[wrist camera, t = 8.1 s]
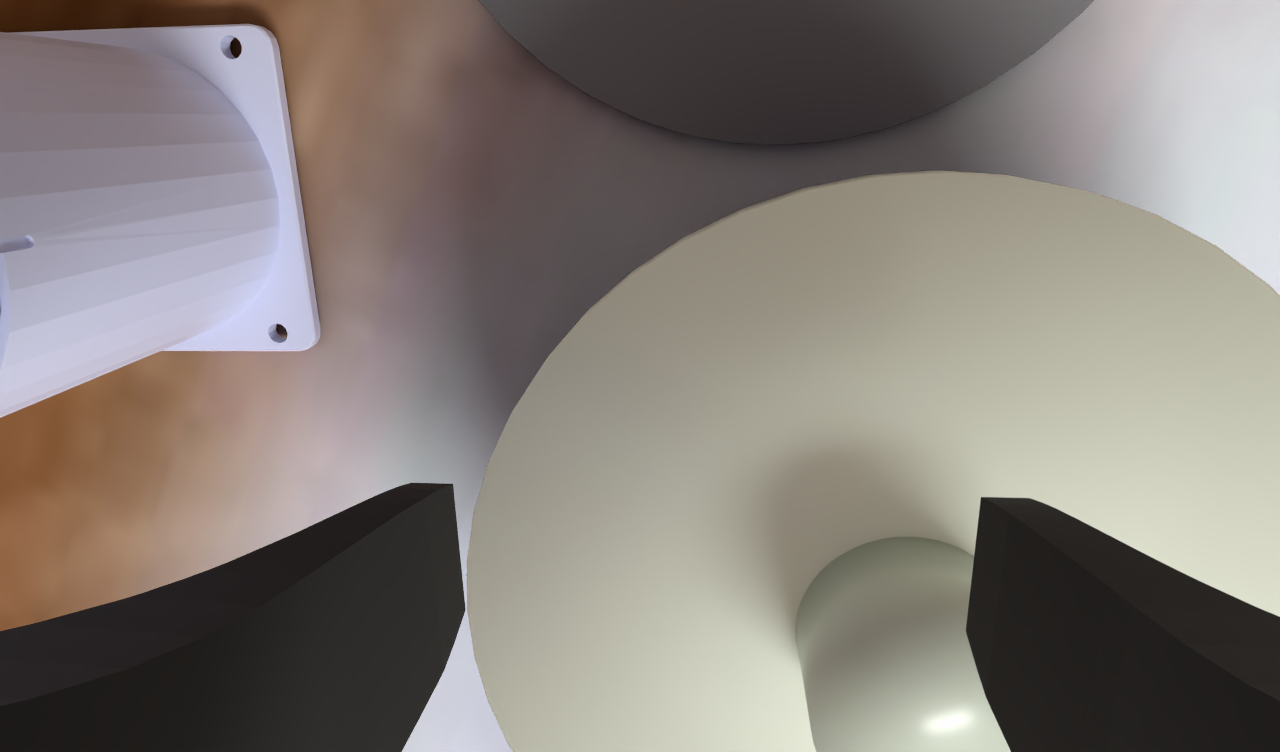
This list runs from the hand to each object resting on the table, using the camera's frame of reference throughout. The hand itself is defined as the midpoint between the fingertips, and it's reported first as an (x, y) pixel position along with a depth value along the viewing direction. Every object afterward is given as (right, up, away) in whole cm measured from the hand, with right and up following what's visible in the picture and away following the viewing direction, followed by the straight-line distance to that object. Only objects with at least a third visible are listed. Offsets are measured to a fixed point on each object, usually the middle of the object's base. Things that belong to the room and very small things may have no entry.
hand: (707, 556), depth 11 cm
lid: (+4, -2, +5) cm, 7 cm away
